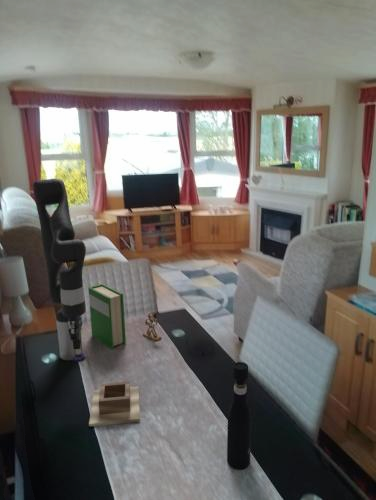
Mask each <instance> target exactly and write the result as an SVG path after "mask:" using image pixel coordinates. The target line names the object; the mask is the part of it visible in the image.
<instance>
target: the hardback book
mask: <svg viewBox="0 0 376 500" xmlns="http://www.w3.org/2000/svg"><path fill="white" fill-rule="evenodd" d="M87 289H88V299H89V300H88V301H89V312H90V323H91V326H90V327H91V336H92V337H94V338H95V339H96V340H97V341H99V342H100V343H102V344H103V345H105V346H107V348H109V349H111V350H113V349H114V346H115V347H116V346H117V345H120V344H123V345H126V344H127V341H126V323H125V322H126V321H125V304H124V303H125V302H124V293H122V292H121V291H118V290H116V289H114V288H112V287H110V286H108V285H106V284H104V283H101V284H96V285H93V286H90V287H88V288H87Z"/></svg>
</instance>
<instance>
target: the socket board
mask: <svg viewBox="0 0 376 500" xmlns="http://www.w3.org/2000/svg"><path fill="white" fill-rule="evenodd" d="M139 388H140V386H131V381H130V380H129V381H127V380H126V381H118V382H117V381H116V382H105V383H104V382H103V383H100V388H99V389H97V390H93V395H92V401H91V408H90V415H89V421H88V426H89V427H98V426H99V427H100V426H108V425H118V424H126V423H127V424H128V423H137V422H140V421H141V413H140V389H139Z"/></svg>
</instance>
